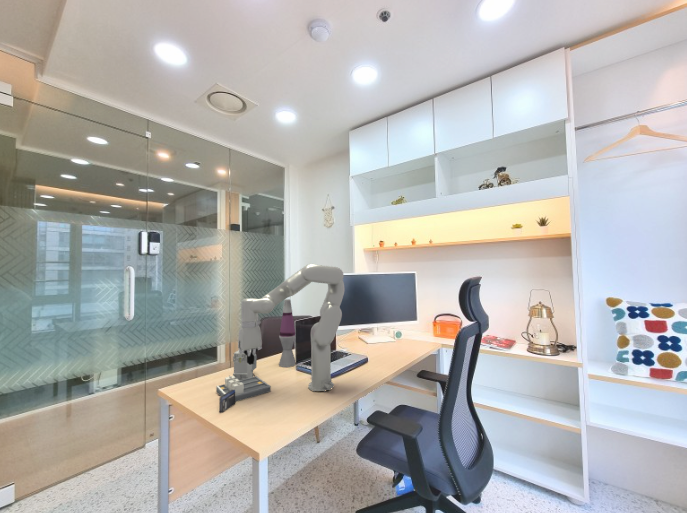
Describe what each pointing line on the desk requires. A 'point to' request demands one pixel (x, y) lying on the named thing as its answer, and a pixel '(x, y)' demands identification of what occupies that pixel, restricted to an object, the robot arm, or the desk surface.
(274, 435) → the desk surface
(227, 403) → the mini dv tape
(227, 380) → the tab
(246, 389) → the switch bank
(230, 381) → the tab
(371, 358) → the desk surface
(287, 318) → the lamp
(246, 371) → the circuit breaker
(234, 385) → the tab
